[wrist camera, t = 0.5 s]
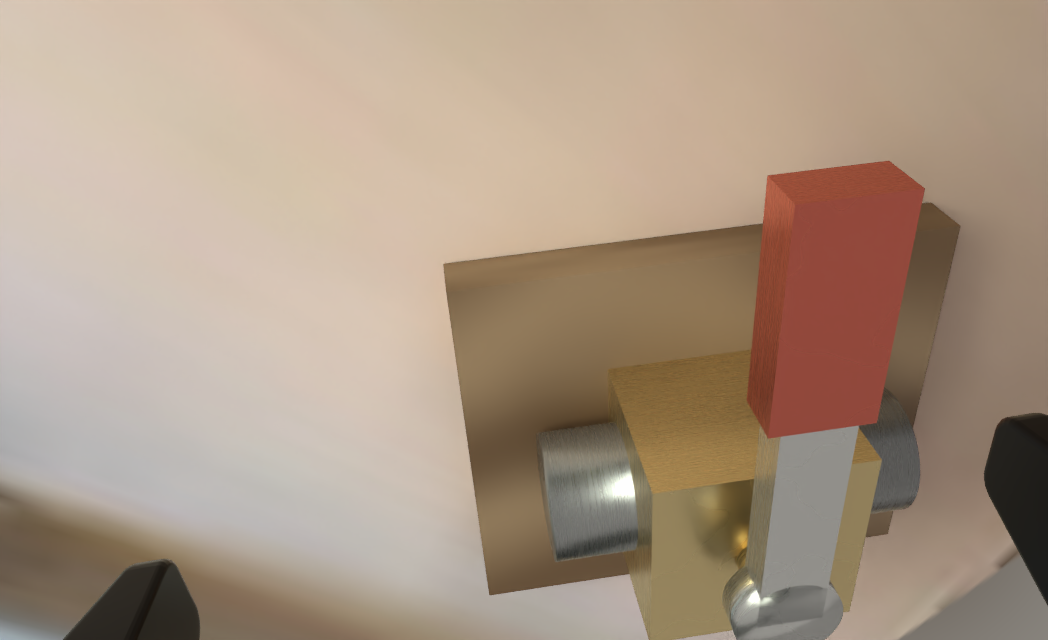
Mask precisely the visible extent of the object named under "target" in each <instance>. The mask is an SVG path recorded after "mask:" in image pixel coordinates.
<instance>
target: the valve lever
mask: <svg viewBox="0 0 1048 640" xmlns="http://www.w3.org/2000/svg"><path fill="white" fill-rule="evenodd" d="M924 190H925V188H923V187H922V186H921V185H920V184H918V183H917V182H916V181H914V180H913V179H912V178H911V177H909V176H908V175H907V174H905V173H904V172H903V171H901V170H900V169H899V168H898V167H896V166H895V165H894V164H892V163H891V162H890V161H883V162H875V163H867V164H859V165H851V166H842V167H834V168H826V169H818V170H810V171H801V172H793V173H785V174H777V175H768V177H767V187H766V198H765V209H764V219H763V230H762V241H761V251H760V262H759V273H758V284H757V294H756V305H755V316H754V326H753V337H752V348H751V358H750V369H749V380H748V390H747V402H748V404H749V406H750V408H751V409H752V411H753V413H754V415H755V416H756V418H757V420H758V422H759V423H760V429H759V438H758V448H757V457H756V467H755V476H754V485H753V495H752V504H751V513H750V523H749V532H748V542H747V551H746V560H745V566H743V567H742V568H741V569H739V570H738V571H737V572H736V573H735V574H734V575H733V576H732V577H731V578H730V579H729V581H728V582H727V584H726V586H725V588H724V590H723V594H722V603H723V607H724V609H725V612H726V614H727V617H728V619H729V622H730V624H731V627H732V629H733V632H734V634H735V637H736V639H737V640H825V639H826V638H827V637H828V636H829V635H830V634H831V633H832V632H833V631H834V630H835V629H836V628H837V626H838V625H839V623H840V621H841V619H842V616H843V604H842V601H841V599H840V597H839V595H838V593H837V592H836V590H835V588H834V586H833V584H832V582H831V581H830V575H831V570H832V565H833V560H834V554H835V549H836V544H837V539H838V533H839V528H840V523H841V518H842V512H843V507H844V502H845V497H846V491H847V486H848V481H849V476H850V470H851V465H852V460H853V455H854V449H855V444H856V439H857V434H858V428H859V425H866V424H873V423H877V420H878V415H879V410H880V405H881V400H882V395H883V390H884V385H885V381H886V376H887V371H888V366H889V361H890V356H891V351H892V346H893V342H894V337H895V332H896V327H897V322H898V317H899V312H900V307H901V303H902V298H903V293H904V288H905V283H906V278H907V273H908V268H909V263H910V259H911V254H912V249H913V244H914V239H915V234H916V229H917V224H918V220H919V215H920V210H921V205H922V200H923V195H924Z"/></svg>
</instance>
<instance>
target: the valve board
mask: <svg viewBox="0 0 1048 640" xmlns="http://www.w3.org/2000/svg"><path fill="white" fill-rule="evenodd" d="M762 230H763V224H758V225H750V226H742V227H734V228H726V229H718V230H710V231H702V232H694V233H686V234H678V235H670V236H662V237H654V238H646V239H639V240H631V241H623V242H615V243H607V244H599V245H591V246H583V247H575V248H567V249H559V250H551V251H543V252H535V253H527V254H519V255H511V256H504V257H496V258H488V259H480V260H472V261H464V262H456V263H448V264H444V274H445V283H446V293H447V300H448V307H449V314H450V321H451V328H452V335H453V342H454V349H455V356H456V363H457V370H458V377H459V384H460V391H461V398H462V405H463V412H464V419H465V426H466V434H467V441H468V448H469V455H470V462H471V469H472V476H473V483H474V490H475V497H476V504H477V511H478V518H479V525H480V532H481V539H482V546H483V553H484V560H485V567H486V574H487V581H488V588H489V595H495V594H501V593H508V592H514V591H521V590H527V589H534V588H540V587H547V586H553V585H560V584H566V583H573V582H579V581H586V580H592V579H599V578H605V577H612V576H618V575H625V574H629V570H628V567H627V564H626V560H625V557H624V554H623V552H619V553H612V554H605V555H599V556H592V557H586V558H579V559H573V560H566V561H559V562H555V560H554V557H553V553H552V549H551V545H550V540H549V535H548V530H547V525H546V519H545V513H544V506H543V500H542V493H541V485H540V478H539V469H538V460H537V447H536V434H537V433H540V432H547V431H554V430H561V429H568V428H575V427H582V426H589V425H596V424H603V423H609V420H608V372H607V369H612V368H619V367H627V366H634V365H641V364H648V363H656V362H663V361H670V360H678V359H685V358H692V357H700V356H707V355H714V354H722V353H729V352H736V351H744V350H751V348H752V337H753V326H754V316H755V305H756V294H757V284H758V273H759V262H760V251H761V241H762ZM959 230H960V225H959V224H957V223H956V222H955V221H954V220H952V219H951V218H950V217H949V216H947V215H946V214H945V213H943V212H942V211H941V210H940V209H938V208H937V207H936V206H935V205H933V204H932V203H924V204H922V205H921V210H920V215H919V220H918V224H917V229H916V234H915V239H914V244H913V249H912V254H911V259H910V263H909V268H908V273H907V278H906V283H905V288H904V293H903V298H902V303H901V307H900V312H899V317H898V322H897V327H896V332H895V337H894V342H893V346H892V351H891V356H890V361H889V366H888V371H887V376H886V381H885V385H884V388H886V389H888V390H889V391H890V392H891V393H892V394H893V395H894V396H895V397H896V398H897V400H898V401H899V402H900V404H901V405H902V407H903V409H904V410H905V412H906V414H907V416H908V418H909V421H910V423H911V426H912V429H913V425H914V420H915V416H916V412H917V408H918V403H919V399H920V395H921V391H922V386H923V382H924V378H925V374H926V370H927V365H928V361H929V357H930V353H931V348H932V344H933V340H934V336H935V331H936V327H937V323H938V319H939V314H940V310H941V306H942V302H943V298H944V293H945V289H946V285H947V281H948V276H949V272H950V268H951V264H952V259H953V255H954V251H955V247H956V243H957V238H958V234H959ZM892 513H893V511H888V512H881V513H875V514H870V518H869V522H868V527H867V532H866V536H865V537H871V536H878V535H884V534H888V530H889V526H890V522H891V518H892Z"/></svg>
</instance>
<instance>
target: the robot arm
mask: <svg viewBox="0 0 1048 640" xmlns="http://www.w3.org/2000/svg"><path fill="white" fill-rule="evenodd" d="M984 481H985V486H986V489H987V492H988V494H989V497H990V499H991V500H992V502H993V504H994V506H995V508H996V510H997V512H998V514H999V515H1000V517H1001V519H1002V521H1003V523H1004V525H1005V527H1006V529H1007V530H1008V532H1009V534H1010V536H1011V538H1012V540H1013V542H1014V544H1015V546H1016V547H1017V549H1018V551H1019V553H1020V555H1021V557H1022V558H1023V560H1024V562H1025V564H1026V566H1027V568H1028V570H1029V572H1030V573H1031V576H1032V577H1033V579H1034V581H1035V583H1036V585H1037V587H1038V589H1039V591H1040V592H1041V594H1042V596H1043V598H1044V599H1045V601H1046V603H1047V605H1048V415H1045V414H1042V413H1030V414H1024V415H1018V416H1012V417H1007V418H1004V419H1002V420H1001V421H1000V423H999V424H998V425H997V427H996V430H995V434H994V437H993V441H992V444H991V448H990V452H989V455H988V459H987V463H986V466H985V471H984ZM199 638H200V619H199V613H198V610H197V607H196V604H195V602H194V600H193V598H192V596H191V594H190V592H189V590H188V588H187V586H186V584H185V582H184V580H183V578H182V575H181V573H180V571H179V569H178V567H177V566H176V564H175V563H174V562H173V561H172V560H169V559H160V560H154V561H148V562H142V563H136V564H133V565H131V566H129V567H128V568H127V569H125V570H124V571H123V572H122V574H121V575H120V576H119V577H118V578H117V579H116V580H115V581H114V583H113V584H112V585H111V586H110V587H109V588H108V589H107V590H106V592H105V593H104V594H103V595H102V596H101V597H100V598H99V599H98V601H97V602H96V603H95V604H94V605H93V606H92V607H91V608H90V610H89V611H88V612H87V613H86V614H85V615H84V616H83V617H82V619H81V620H80V621H79V622H78V623H77V624H76V625H75V626H74V628H73V629H72V630H71V631H70V632H69V633H68V634H67V635H66V637H65V638H64V639H63V640H199Z"/></svg>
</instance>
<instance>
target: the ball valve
mask: <svg viewBox="0 0 1048 640" xmlns="http://www.w3.org/2000/svg"><path fill="white" fill-rule="evenodd" d="M750 358H751V350H744V351H736V352H729V353H722V354H714V355H707V356H700V357H692V358H685V359H678V360H670V361H663V362H656V363H648V364H641V365H634V366H627V367H619V368H612V369H607V372H608V420H609V423H603V424H596V425H589V426H582V427H575V428H568V429H561V430H554V431H547V432H540V433H537V434H536V447H537V460H538V469H539V478H540V485H541V493H542V500H543V506H544V513H545V519H546V525H547V530H548V535H549V540H550V545H551V549H552V553H553V557H554V560H555V562H559V561H566V560H573V559H579V558H586V557H592V556H599V555H605V554H612V553H619V552H623V554H624V557H625V560H626V564H627V567H628V570H629V574H630V577H631V581H632V584H633V587H634V591H635V594H636V597H637V601H638V604H639V607H640V611H641V614H642V618H643V621H644V624H645V628H646V631H647V634H648V638H649V640H673V639H680V638H686V637H692V636H698V635H705V634H711V633H717V632H723V631H729V630H733V629H732V627H731V624H730V622H729V619H728V617H727V614H726V612H725V609H724V607H723V603H722V594H723V590H724V588H725V586H726V584H727V582H728V581H729V579H730V578H731V577H732V576H733V575H734V574H735V573H736V572H737V571H738V570H739V569H741V568H742V567H743V566H745V560H746V551H747V542H748V532H749V523H750V513H751V504H752V495H753V485H754V476H755V467H756V457H757V448H758V438H759V429H760V423H759V422H758V420H757V418H756V416H755V415H754V413H753V411H752V409H751V408H750V406H749V404H748V402H747V390H748V380H749V369H750ZM919 482H920V459H919V452H918V447H917V442H916V438H915V435H914V431H913V429H912V426H911V423H910V421H909V418H908V416H907V414H906V412H905V410H904V409H903V407H902V405H901V404H900V402H899V401H898V400H897V398H896V397H895V396H894V395H893V394H892V393H891V392H890V391H889V390H888V389H886V388H884V390H883V395H882V400H881V405H880V410H879V415H878V420H877V423H873V424H866V425H859V428H858V434H857V439H856V444H855V449H854V455H853V460H852V465H851V470H850V476H849V481H848V486H847V491H846V497H845V502H844V507H843V512H842V518H841V523H840V528H839V533H838V539H837V544H836V549H835V554H834V560H833V565H832V570H831V575H830V581H831V582H832V584H833V586H834V588H835V590H836V592H837V593H838V595H839V597H840V599H841V601H842V604H843V612H848V611H849V610H850V606H851V601H852V596H853V592H854V587H855V582H856V578H857V573H858V569H859V564H860V559H861V555H862V550H863V545H864V541H865V536H866V532H867V527H868V522H869V518H870V514H875V513H881V512H888V511H894V510H901V509H905V508H908V507H909V506H910V505H911V504H912V503H913V501H914V499H915V497H916V495H917V492H918V488H919Z"/></svg>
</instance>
